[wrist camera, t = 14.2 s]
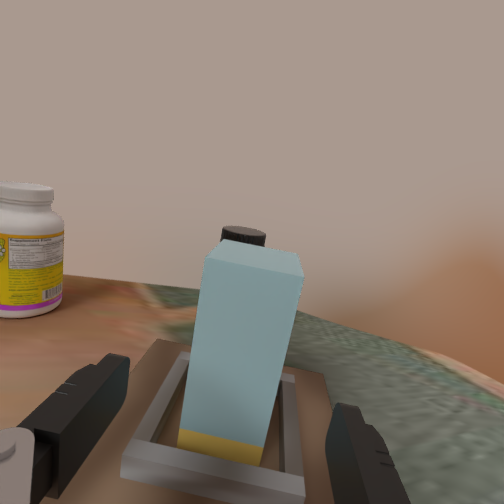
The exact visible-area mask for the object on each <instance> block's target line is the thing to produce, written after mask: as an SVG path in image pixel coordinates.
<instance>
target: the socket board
mask: <svg viewBox="0 0 504 504" xmlns="http://www.w3.org/2000/svg"><path fill="white" fill-rule="evenodd" d="M191 348H192V346H190V345H185V344H180V343H175V342H171V341H166V340H161V339H156V341H155V342H154V343H153V345H152V346H151V347H150V348H149V350H148V351H147V352H146V354H145V355H144V356H143V358H142V359H141V360H140V361H139V363H138V364H137V365H136V367H135V368H134V369H133V370H132V372H131V373H130V374H129V378H128V388H127V395H126V398H125V401H124V403H123V405H122V407H121V409H120V410H119V412H118V413H117V415H116V416H115V418H114V419H113V421H112V422H111V423H110V425H109V426H108V428H107V429H106V431H105V432H104V434H103V435H102V436H101V438H100V439H99V441H98V442H97V444H96V445H95V447H94V448H93V449H92V451H91V452H90V454H89V455H88V457H87V458H86V460H85V461H84V462H83V464H82V465H81V467H80V468H79V470H78V471H77V473H76V474H75V476H74V477H73V478H72V480H71V481H70V483H69V484H68V486H67V487H66V489H65V490H64V491H63V493H62V494H61V496H60V497H59V499H58V500H57V499H53V498H49V497H44V498H43V499H42V501H41V502H40V503H39V504H335V503H334V498H333V493H332V487H331V482H330V477H329V471H328V466H327V460H326V455H325V440H326V434H327V431H328V428H329V424H330V421H331V418H332V414H333V413H332V409H331V405H330V400H329V396H328V392H327V388H326V384H325V380H324V376H323V374H321V373H316V372H312V371H307V370H302V369H298V368H293V367H288V366H284V365H283V369H282V373H281V377H280V381H279V385H278V389H277V394H276V398H275V402H274V406H273V410H272V414H271V419H270V423H269V427H268V431H267V435H266V440H265V444H264V448H263V452H262V456H261V460H260V465H259V467H257V466H253V465H248V464H244V463H239V462H235V461H231V460H226V459H222V458H217V457H213V456H208V455H204V454H200V453H195V452H191V451H186V450H182V449H178V448H177V441H178V435H179V428H180V421H181V415H182V408H183V401H184V395H185V388H186V381H187V375H188V368H189V361H190V355H191Z"/></svg>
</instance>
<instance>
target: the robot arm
mask: <svg viewBox="0 0 504 504" xmlns="http://www.w3.org/2000/svg"><path fill="white" fill-rule="evenodd" d="M129 367H130V358H129V357H125V356H121V355H116V354H111V353H109V354H107V355H106V356H105V357H104V358H103V359H102V360H101V361H100V362H99V363H98V364H97V365H93V364H89V365H87V366H85V367H84V368H82V369H80V370H78V371H76V372H75V373H74V374H73V375H71V376H70V377H69V378H68V379H67V380H66V381H65V383H64V384H62V385H61V386H60V387H59V388H58V389H56V391H55V393H52V394H51V395H50V396H49V397H48V398H47V399H46V400H45V401H44V402H43V403H41V404H40V405H39V406H38V407H37V408H36V409H35V410H34V411H33V412H32V413H31V414H30V415H29V416H28V417H26V418H25V419H24V420H23V421H22V422H21V423H20V424H19V425H18V426H17V427H14V428H7V429H3V430H0V504H39V503H40V502H41V501H42V499H43V498H44V497H49V498H53V499H57V500H58V499H59V497H60V496H61V494H62V493H63V491H64V490H65V489H66V487H67V486H68V484H69V483H70V481H71V480H72V478H73V477H74V476H75V474H76V473H77V471H78V470H79V468H80V467H81V465H82V464H83V462H84V461H85V460H86V458H87V457H88V455H89V454H90V452H91V451H92V449H93V448H94V447H95V445H96V444H97V442H98V441H99V439H100V438H101V436H102V435H103V434H104V432H105V431H106V429H107V428H108V426H109V425H110V423H111V422H112V421H113V419H114V418H115V416H116V415H117V413H118V412H119V410H120V409H121V407H122V405H123V403H124V401H125V398H126V395H127V388H128V378H129ZM325 455H326V460H327V466H328V471H329V477H330V482H331V487H332V493H333V498H334V503H335V504H411V503H410V501H409V498H408V496H407V494H406V491H405V489H404V487H403V484H402V482H401V479H400V477H399V475H398V472H397V470H396V469H395V468H394V466H395V465H394V463H393V461H392V458H391V456H389V451H388V449H387V447H386V444H385V442H384V440H383V438H382V437H381V436H380V434H379V433H378V432H377V431H376V429H375V428H374V427H373V426H372V425H368V424H365V422H364V419H363V417H362V414H361V411H360V409H359V408H358V407H357V406H352V405H347V404H343V403H336V405H335V408H334V411H333V414H332V418H331V421H330V424H329V428H328V431H327V434H326V440H325Z"/></svg>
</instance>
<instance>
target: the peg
mask: <svg viewBox="0 0 504 504" xmlns="http://www.w3.org/2000/svg"><path fill="white" fill-rule="evenodd" d="M303 281H304V274H303V271H302V267H301V263H300V260H299V256H298V254H296V253H291V252H286V251H281V250H276V249H271V248H266V247H261V246H256V245H251V244H246V243H241V242H236V241H231V240H226V239H223V240H222V241H221V242H220V243H219V244H218V245H217V246H216V247H215V248H214V249H213V250H212V251H211V252H210V253H209V254H208V255H207V256H206V257H205V262H204V268H203V275H202V281H201V288H200V295H199V301H198V308H197V315H196V321H195V328H194V335H193V341H192V348H191V355H190V361H189V368H188V375H187V381H186V388H185V395H184V401H183V408H182V415H181V421H180V428H179V435H178V441H177V448H178V449H182V450H186V451H191V452H195V453H200V454H204V455H208V456H213V457H217V458H222V459H226V460H231V461H235V462H239V463H244V464H248V465H253V466H257V467H259V465H260V460H261V456H262V452H263V448H264V444H265V440H266V435H267V431H268V427H269V423H270V419H271V414H272V410H273V406H274V402H275V398H276V394H277V389H278V385H279V381H280V377H281V373H282V369H283V364H284V360H285V356H286V352H287V348H288V344H289V339H290V335H291V331H292V327H293V323H294V319H295V314H296V310H297V306H298V302H299V298H300V293H301V289H302V285H303Z"/></svg>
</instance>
